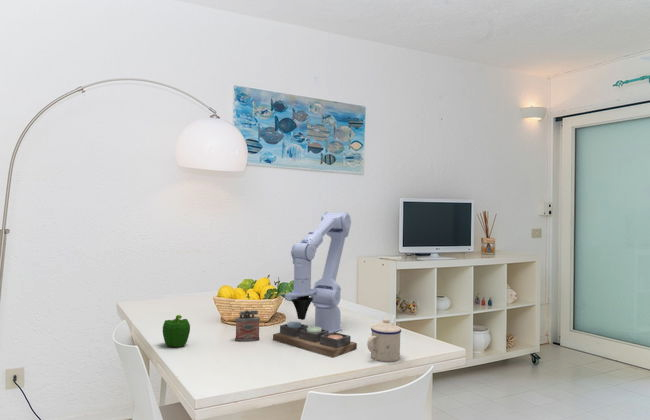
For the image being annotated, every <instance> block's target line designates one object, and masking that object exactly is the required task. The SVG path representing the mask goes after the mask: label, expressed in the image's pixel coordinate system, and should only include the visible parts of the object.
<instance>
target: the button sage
mask: <svg viewBox="0 0 650 420" xmlns="http://www.w3.org/2000/svg"><path fill="white" fill-rule="evenodd" d="M307 332H310V333H314V334H316V333H320V332H321V327H317V326H315V325H314V326H313V325H312V326H308V327H307Z"/></svg>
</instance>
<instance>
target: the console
mask: <svg viewBox="0 0 650 420" xmlns="http://www.w3.org/2000/svg"><path fill="white" fill-rule="evenodd" d="M307 327H309V325H308V324H302V323H301V327H299V328H295V329H294V328H290V327H287V323H284V324H281V325H279V332H277V333H273V334H272V341H274V342H278V343H281V344H285V345H287V346H291V347H294V348H295V347H296V348H299V349H302V350H305V351H308V352H312V353H315V354H319V355H322V356H326V357H330V358H335V356H336V357H338V355H339V356H341V355H343V354H347V353H350V352H353V351H355V349H356V350H358V349H357V347H358V346H357V345H358V342H354V341H351V336H350V335H349V334H343V333H340V332H337V331H336V332H332V333H329V331H328V330H324V329H321V332H320V333H316V334H314V333H310V332H307ZM329 335H341V336H343V338H340V339H333V338H329V337H328V336H329ZM352 350H353V351H352Z"/></svg>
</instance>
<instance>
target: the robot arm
mask: <svg viewBox="0 0 650 420" xmlns="http://www.w3.org/2000/svg"><path fill="white" fill-rule="evenodd" d="M351 225H352V221H351V216H350V214H349V213H348V212H328V211H324V212H323V214H322V215H321V218H320V223H319V225H318V226H317V227H316V228H315V229H313V230H309V231H308V233H307V234H306V235H305V236H304V237H303V238H302V239H301V241H299V242H296V243H294V244H293V245H292V247H291V250H290V256H291V258H292V264H293V290H291V292H290V291H289V292H287V293H284V300H285V301H289V302H292V303H293V306H294V308H295V312H296V316H297V320H301V321H303V320H306V318H307V317H306V316H307V314H308V313H307V312H308V311H309V307H310V305H311V303H312V304H313V307H315V309H314V326H317V327H321V329H324V330H328V331H329V333H332V332H336V333H337V332H338V331H342V330H343V328H341V309H340V307H339V306H338V305H339V304H340V302H341V290H342V288H341V286H340V285H339V283H338V282H337V281H336V280H337V275H338V272H339V267H340V264H341V263H340V262H341V259H342V253H343V250H344V245H345V241H346V238H347V237H348V236H349V233H350V228H351ZM325 235H326V236H328V237H330V243H329V247H328V252H327V255H326V260H325V264H324V268H323V273H322V275H321V276H322V277H321V278H320V279H319V280H317V281H315V282H314V284H313V288H312V289H311V287H312V260H314V259H315V256H316V253H317V249H318V248H319V247H320V246H321V244H322V243H323V242H324V236H325Z"/></svg>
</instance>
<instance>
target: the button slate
mask: <svg viewBox="0 0 650 420" xmlns="http://www.w3.org/2000/svg"><path fill="white" fill-rule="evenodd" d="M286 324H287V327H290V328H294V329H295V328H299V327H301V324H302V322H300V321H289V322H287V323H286Z"/></svg>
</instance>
